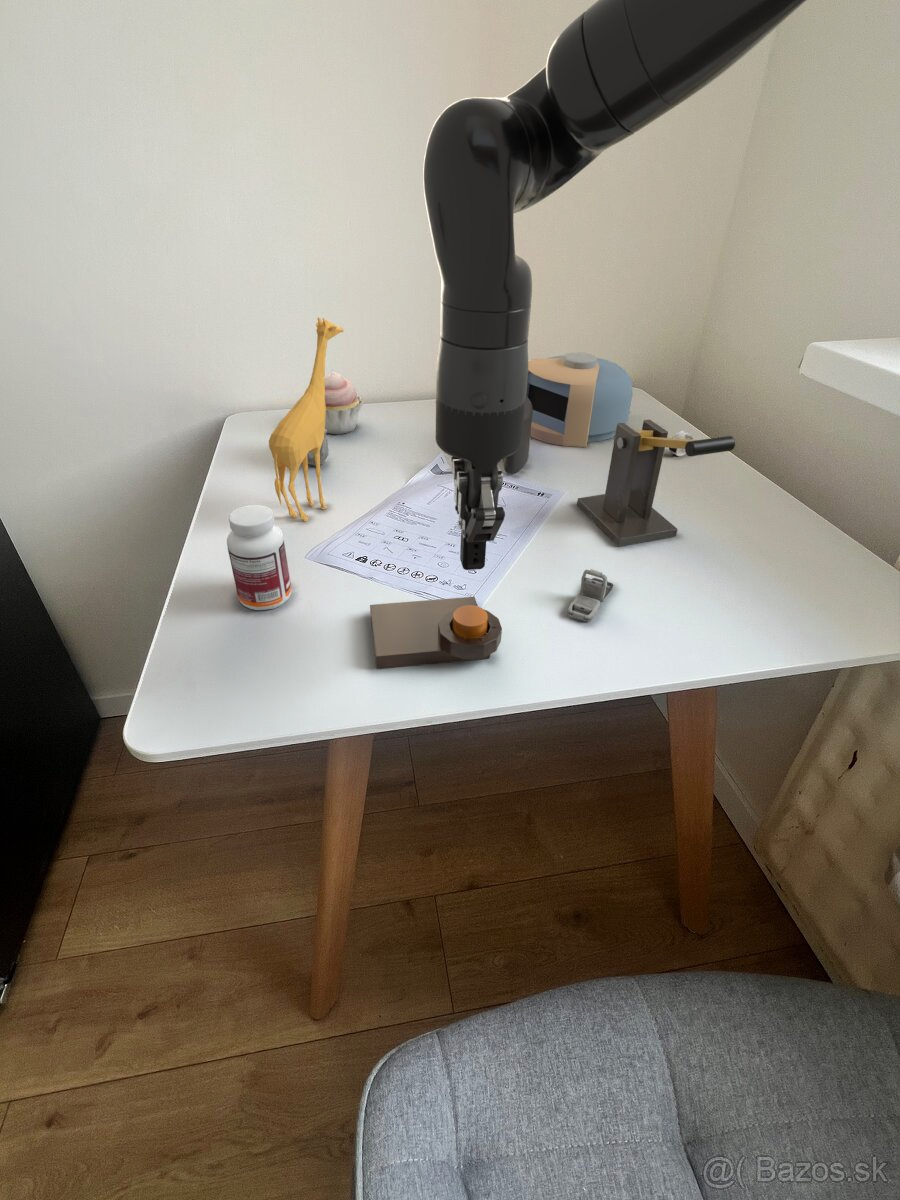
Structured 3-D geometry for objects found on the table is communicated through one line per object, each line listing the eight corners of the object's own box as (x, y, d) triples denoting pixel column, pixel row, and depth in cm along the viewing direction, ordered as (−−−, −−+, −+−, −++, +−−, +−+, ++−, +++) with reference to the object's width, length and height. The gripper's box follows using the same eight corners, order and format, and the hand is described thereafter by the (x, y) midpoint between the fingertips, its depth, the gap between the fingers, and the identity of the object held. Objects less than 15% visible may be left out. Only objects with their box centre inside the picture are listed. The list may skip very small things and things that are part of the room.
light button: (483, 616, 75) (484, 603, 74) (490, 638, 72) (491, 624, 71) (450, 619, 74) (450, 606, 73) (455, 641, 71) (456, 627, 70)
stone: (350, 466, 111) (345, 405, 105) (314, 479, 107) (308, 416, 101) (315, 447, 116) (310, 388, 110) (281, 459, 112) (272, 398, 106)
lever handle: (735, 454, 79) (735, 432, 78) (693, 460, 77) (694, 438, 77) (651, 446, 94) (651, 428, 93) (616, 451, 92) (615, 433, 92)
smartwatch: (683, 450, 118) (688, 428, 116) (692, 455, 117) (697, 432, 114) (666, 454, 117) (671, 431, 115) (675, 459, 115) (680, 436, 113)
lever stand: (676, 536, 95) (699, 441, 87) (618, 546, 93) (636, 450, 85) (630, 496, 104) (647, 407, 96) (576, 505, 102) (589, 414, 94)
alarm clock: (495, 421, 127) (499, 354, 120) (566, 397, 138) (574, 334, 131) (577, 456, 116) (587, 383, 108) (647, 426, 127) (660, 359, 119)
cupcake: (351, 414, 128) (348, 359, 122) (373, 432, 122) (370, 375, 116) (303, 423, 125) (297, 367, 119) (322, 442, 118) (317, 383, 112)
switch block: (484, 607, 81) (486, 582, 79) (504, 668, 73) (507, 642, 71) (370, 616, 79) (369, 591, 77) (377, 680, 71) (376, 654, 69)
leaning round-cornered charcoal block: (533, 478, 109) (539, 420, 103) (504, 478, 108) (508, 419, 103) (522, 436, 122) (526, 382, 116) (495, 436, 122) (499, 382, 116)
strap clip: (589, 624, 79) (595, 594, 77) (564, 616, 80) (569, 586, 78) (614, 587, 85) (620, 558, 83) (591, 580, 86) (596, 551, 84)
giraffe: (339, 480, 107) (325, 308, 92) (363, 486, 105) (353, 312, 90) (269, 526, 95) (240, 338, 80) (294, 535, 93) (270, 344, 79)
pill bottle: (261, 576, 85) (248, 496, 79) (302, 590, 83) (292, 509, 77) (226, 602, 81) (209, 520, 74) (269, 618, 79) (254, 534, 72)
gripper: (545, 421, 53) (525, 602, 64) (507, 365, 64) (495, 528, 74) (449, 424, 52) (444, 608, 63) (426, 367, 63) (425, 533, 73)
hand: (472, 565), depth 68 cm, fingers closed
